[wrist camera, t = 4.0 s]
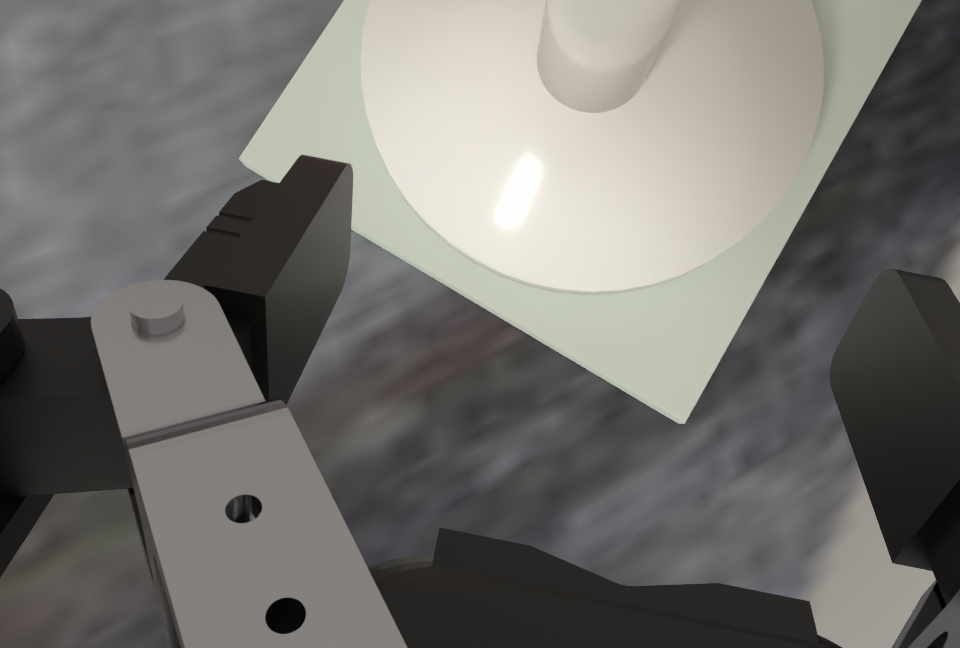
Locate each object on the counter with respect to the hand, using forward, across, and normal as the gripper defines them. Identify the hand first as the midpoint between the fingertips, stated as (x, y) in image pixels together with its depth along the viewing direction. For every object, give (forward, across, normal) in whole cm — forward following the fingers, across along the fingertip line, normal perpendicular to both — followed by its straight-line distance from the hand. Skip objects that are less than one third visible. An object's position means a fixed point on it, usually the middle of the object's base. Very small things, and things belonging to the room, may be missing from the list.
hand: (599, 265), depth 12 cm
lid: (+16, 0, +3) cm, 16 cm away
